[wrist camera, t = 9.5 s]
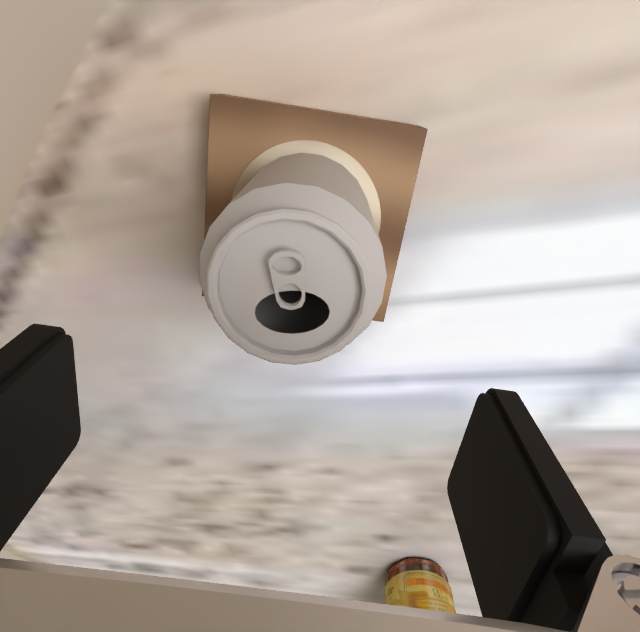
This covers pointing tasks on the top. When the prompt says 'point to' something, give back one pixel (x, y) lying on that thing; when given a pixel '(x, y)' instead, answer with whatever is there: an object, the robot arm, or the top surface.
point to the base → (322, 139)
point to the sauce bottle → (418, 586)
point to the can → (294, 262)
